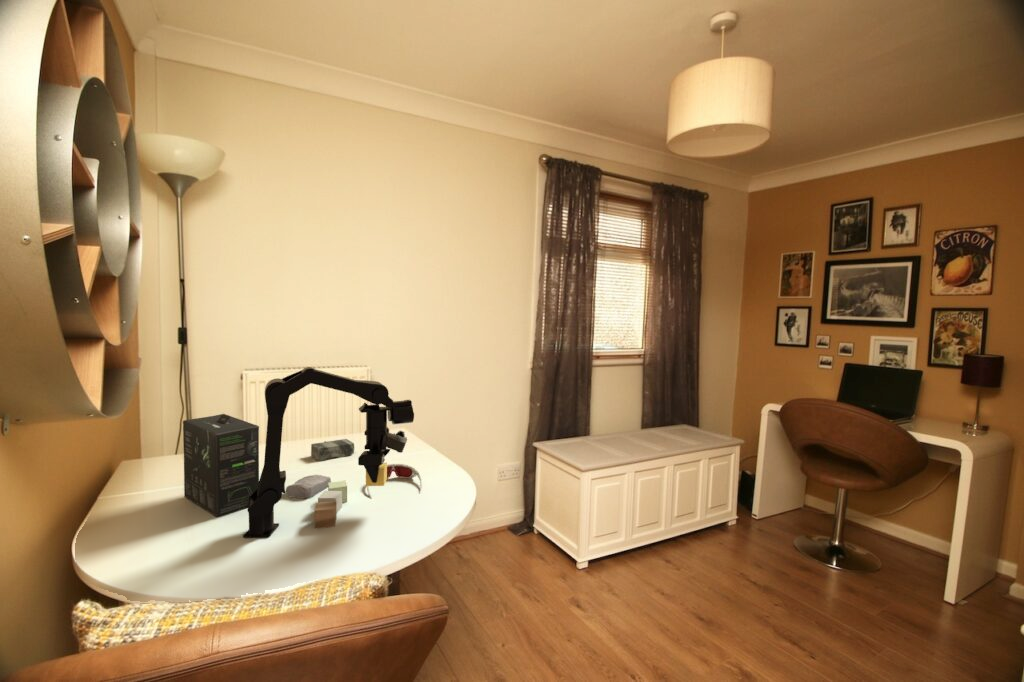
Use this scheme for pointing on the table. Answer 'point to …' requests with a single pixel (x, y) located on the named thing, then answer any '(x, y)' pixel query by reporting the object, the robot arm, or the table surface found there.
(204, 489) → the headset box
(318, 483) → the stone block
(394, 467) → the sunglasses
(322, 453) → the stone block
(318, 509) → the walnut cube
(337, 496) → the grey cube
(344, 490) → the sage cube
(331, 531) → the table surface
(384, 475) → the mustard cube
